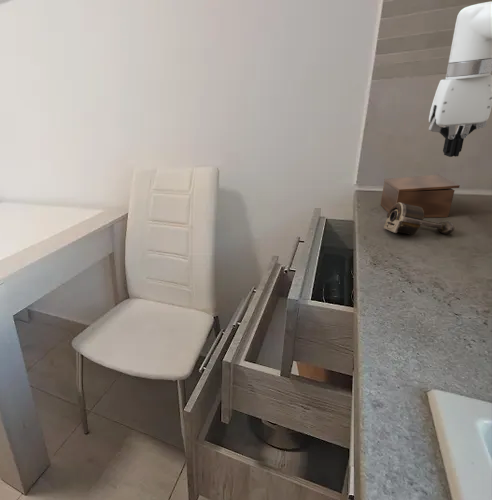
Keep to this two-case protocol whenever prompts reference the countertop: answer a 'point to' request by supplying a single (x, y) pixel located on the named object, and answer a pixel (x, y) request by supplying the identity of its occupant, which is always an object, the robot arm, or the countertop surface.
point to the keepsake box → (419, 200)
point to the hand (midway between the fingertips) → (450, 155)
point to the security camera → (412, 220)
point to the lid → (421, 183)
